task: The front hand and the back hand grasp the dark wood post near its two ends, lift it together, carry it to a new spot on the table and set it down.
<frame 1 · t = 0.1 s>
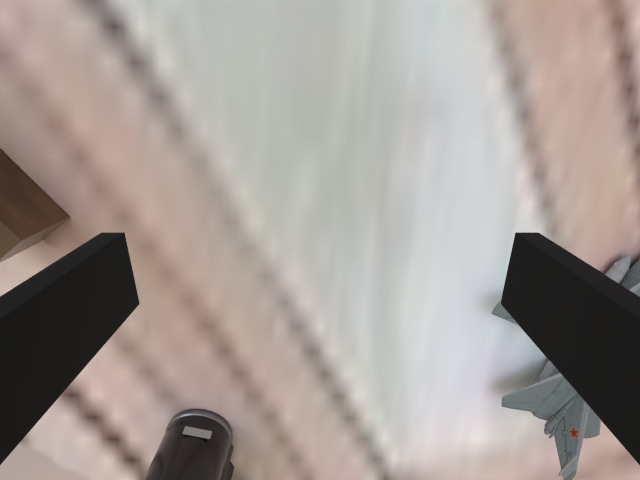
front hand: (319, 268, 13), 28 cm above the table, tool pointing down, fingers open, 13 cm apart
airplane: (608, 298, 45), on the table
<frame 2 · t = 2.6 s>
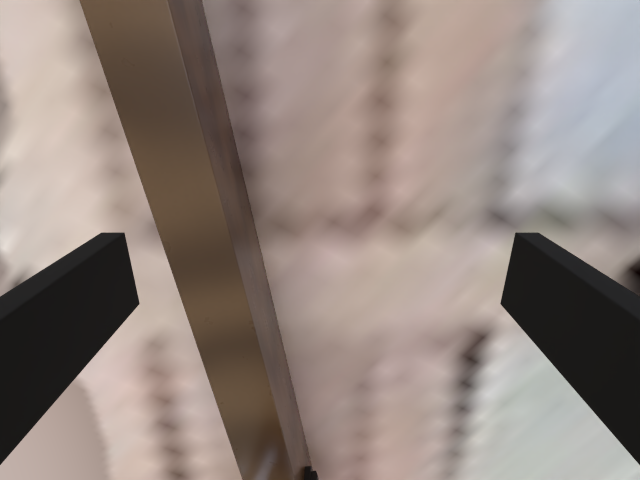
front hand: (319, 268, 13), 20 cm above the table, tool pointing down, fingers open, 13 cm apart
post: (225, 220, 33), on the table, touching back hand
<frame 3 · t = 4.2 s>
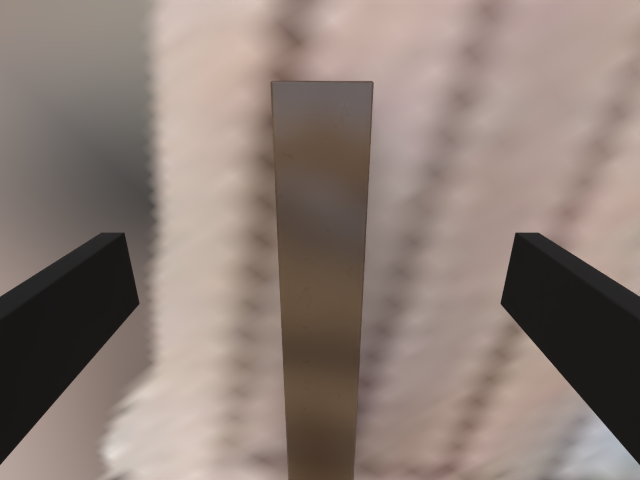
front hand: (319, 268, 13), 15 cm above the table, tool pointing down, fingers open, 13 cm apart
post: (320, 460, 37), on the table, touching back hand
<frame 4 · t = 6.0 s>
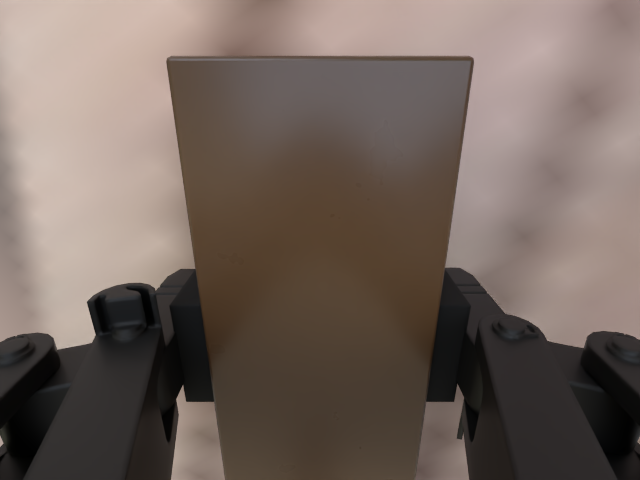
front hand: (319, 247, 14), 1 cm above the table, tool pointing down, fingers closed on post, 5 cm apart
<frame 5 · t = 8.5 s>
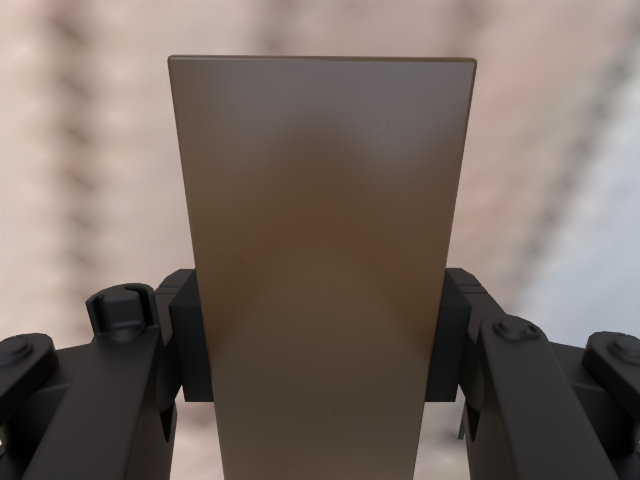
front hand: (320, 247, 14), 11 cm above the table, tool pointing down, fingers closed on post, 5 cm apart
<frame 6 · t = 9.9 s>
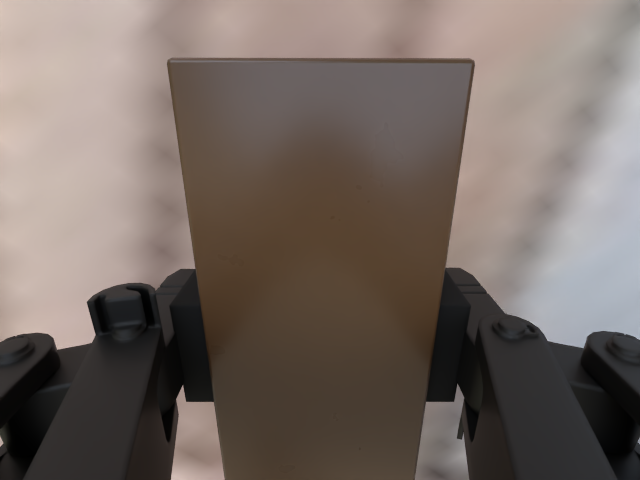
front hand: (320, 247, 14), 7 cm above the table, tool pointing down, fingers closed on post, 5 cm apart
when the front hand's fingers open (2 cm above the table, at t = 10.9 s): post drops 1 cm, on the table.
when the back hand's fingers open (4 cm above the table, at t = 11.0 s): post stays where it is, on the table.
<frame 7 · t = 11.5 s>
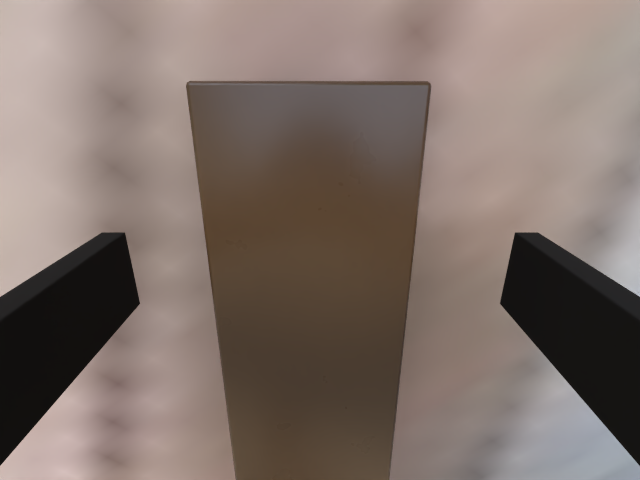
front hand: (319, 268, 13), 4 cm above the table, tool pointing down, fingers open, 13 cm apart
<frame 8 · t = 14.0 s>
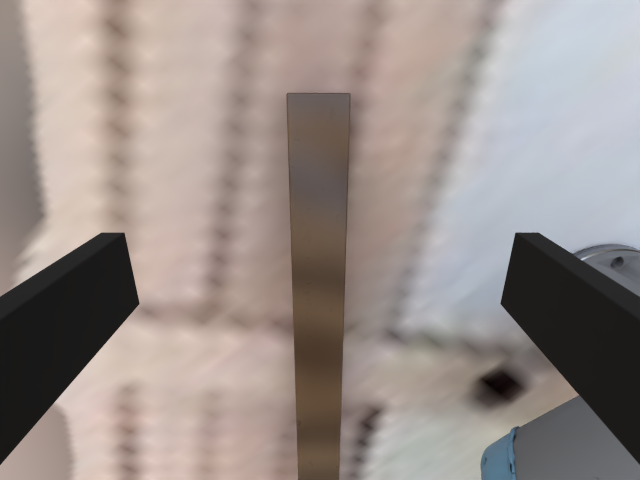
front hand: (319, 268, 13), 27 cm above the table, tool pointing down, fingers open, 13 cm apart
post: (318, 381, 48), on the table
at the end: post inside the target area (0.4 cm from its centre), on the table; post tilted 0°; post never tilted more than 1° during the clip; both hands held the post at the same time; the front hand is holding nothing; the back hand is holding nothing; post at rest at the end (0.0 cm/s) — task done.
